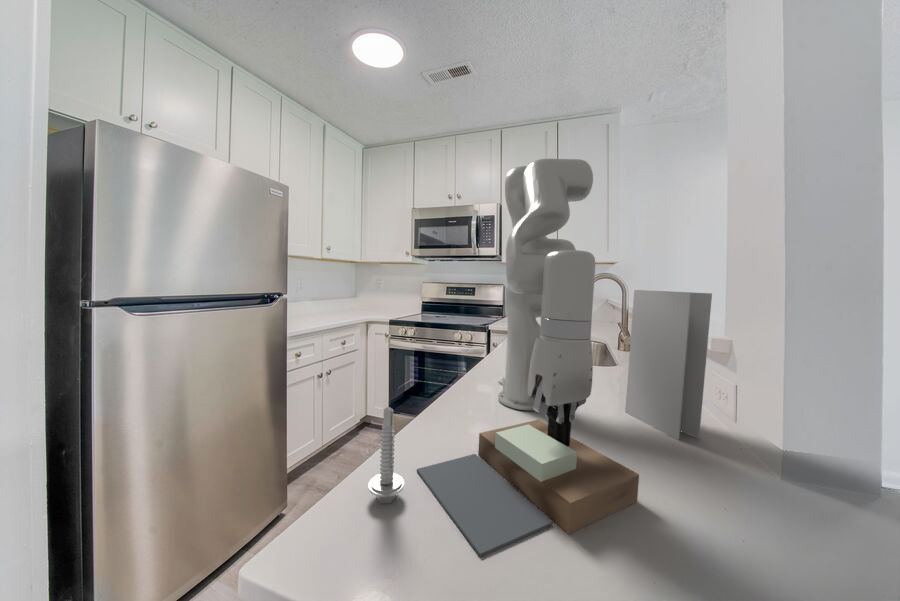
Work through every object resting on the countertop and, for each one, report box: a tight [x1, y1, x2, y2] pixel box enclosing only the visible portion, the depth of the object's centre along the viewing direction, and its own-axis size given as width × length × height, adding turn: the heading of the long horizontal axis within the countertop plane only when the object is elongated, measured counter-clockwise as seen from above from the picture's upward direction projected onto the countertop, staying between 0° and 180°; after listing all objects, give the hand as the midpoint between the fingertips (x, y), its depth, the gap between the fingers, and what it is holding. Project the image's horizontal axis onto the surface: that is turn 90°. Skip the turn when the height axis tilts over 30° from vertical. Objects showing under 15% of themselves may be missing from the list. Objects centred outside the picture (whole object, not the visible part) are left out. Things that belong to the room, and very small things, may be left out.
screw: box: [367, 406, 405, 504], centre depth 45 cm, size 13×5×5 cm
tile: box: [495, 424, 577, 482], centre depth 50 cm, size 10×7×2 cm
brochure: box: [624, 289, 713, 441], centre depth 73 cm, size 14×6×30 cm, turn 14°
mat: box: [416, 453, 553, 558], centre depth 47 cm, size 18×11×1 cm, turn 29°
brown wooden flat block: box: [477, 419, 640, 535], centre depth 52 cm, size 20×14×4 cm
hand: (558, 443), depth 53 cm, fingers closed
